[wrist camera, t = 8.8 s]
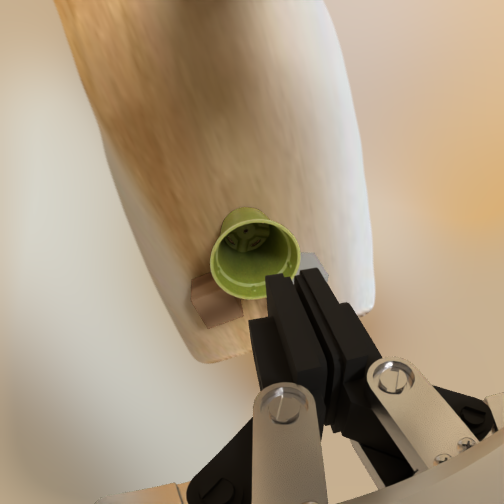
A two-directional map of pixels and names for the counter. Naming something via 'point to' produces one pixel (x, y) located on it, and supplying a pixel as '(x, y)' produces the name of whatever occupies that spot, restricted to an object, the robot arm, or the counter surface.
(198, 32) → the counter surface
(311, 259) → the slate block
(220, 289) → the walnut block
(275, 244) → the plant pot
